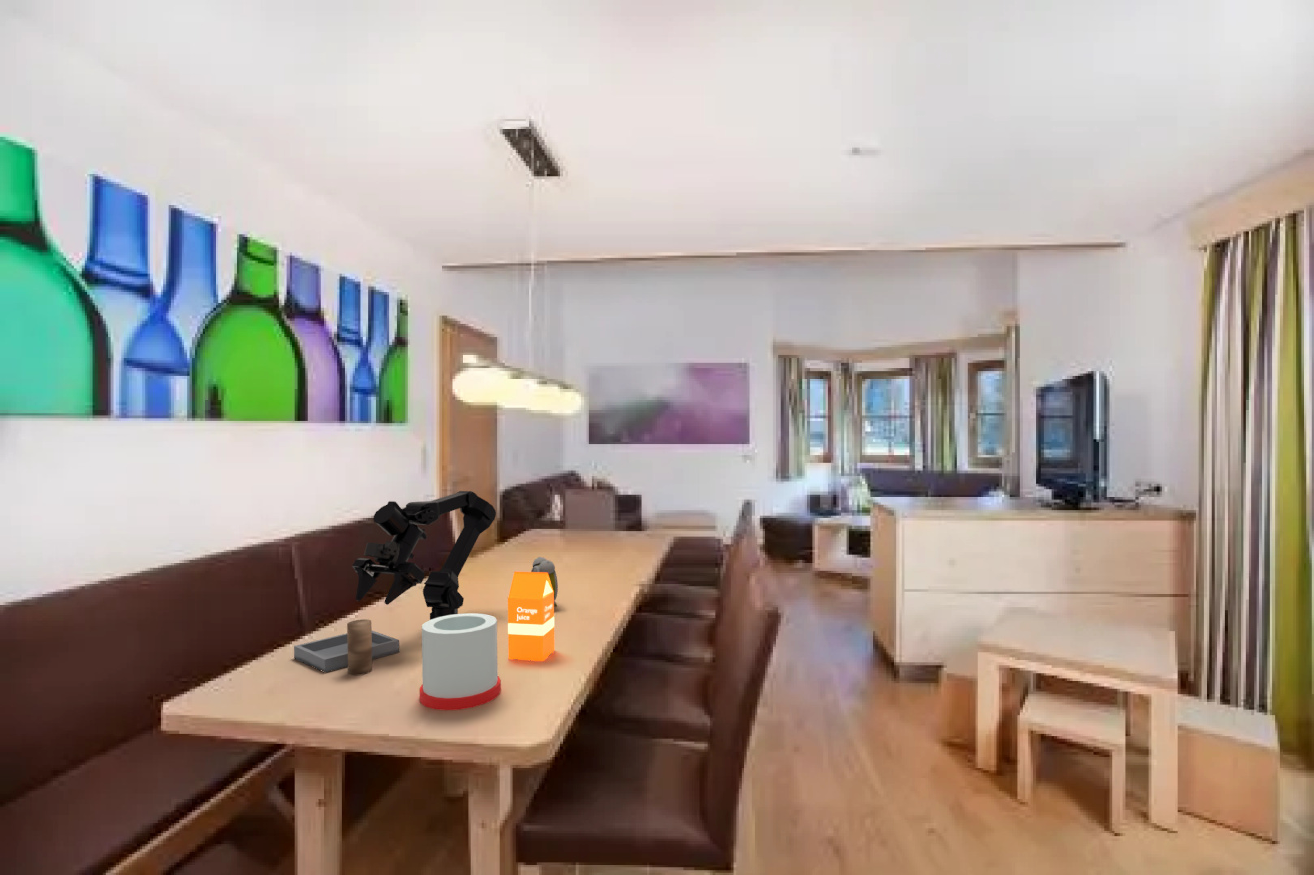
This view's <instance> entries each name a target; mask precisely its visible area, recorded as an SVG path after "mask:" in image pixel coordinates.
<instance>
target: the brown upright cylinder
mask: <svg viewBox="0 0 1314 875" xmlns="http://www.w3.org/2000/svg"><path fill="white" fill-rule="evenodd" d="M346 630H347V644H348V667H347V674H348V675H350V676H360V675H365V674H369V673H370V672H371V670H372V671H373V660H372V631H373V630H372V620H371V619H356V620H355V619H354V620H351V621H349V622H347V623H346ZM368 672H369V673H368Z"/></svg>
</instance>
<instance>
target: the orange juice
mask: <svg viewBox="0 0 1314 875" xmlns="http://www.w3.org/2000/svg"><path fill="white" fill-rule="evenodd" d="M511 580H512V581H511V584H510V585H511V586H510V589H509V592H508V597H507V637H508V639H507V640H508V641H507V642H508V645H507V646H508V650H507V652H508V660H513V659H518V660H517V661H530V660H531V662H544V661H545V660H546V659H547V658H549V657H550V656H551V655H552V654H554V652H555V606H554V591H553V588H552V585H551V582H550V578H549V575H548V573H544V572H531V571H514V572H513V577H512V579H511ZM553 651H554V652H553ZM551 653H552V654H551ZM550 654H551V655H550ZM549 655H550V656H549ZM548 656H549V657H548Z"/></svg>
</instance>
